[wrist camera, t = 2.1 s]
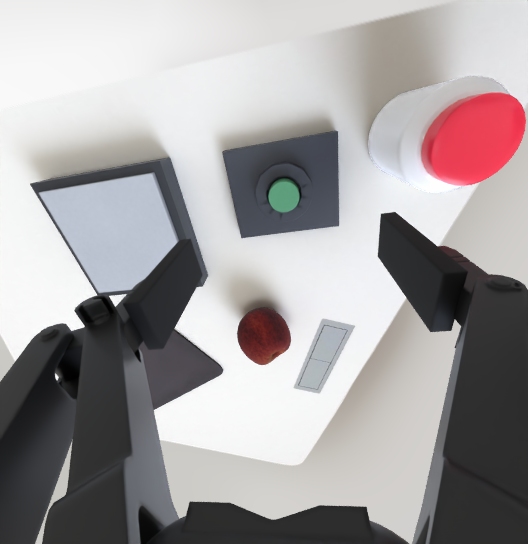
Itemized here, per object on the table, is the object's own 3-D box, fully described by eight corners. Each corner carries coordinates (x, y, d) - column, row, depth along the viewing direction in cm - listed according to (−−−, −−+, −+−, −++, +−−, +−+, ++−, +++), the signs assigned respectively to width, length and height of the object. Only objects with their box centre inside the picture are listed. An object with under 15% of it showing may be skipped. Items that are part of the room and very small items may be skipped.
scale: (170, 157, 29) (157, 161, 26) (208, 275, 37) (201, 289, 34) (49, 179, 31) (24, 185, 28) (109, 286, 39) (95, 299, 36)
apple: (265, 341, 43) (261, 383, 36) (231, 315, 40) (219, 355, 33) (298, 319, 40) (301, 360, 33) (263, 289, 37) (258, 327, 30)
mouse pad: (134, 298, 40) (133, 299, 39) (226, 371, 47) (226, 371, 47) (61, 360, 49) (60, 360, 49) (148, 412, 56) (148, 413, 56)
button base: (335, 130, 26) (341, 131, 24) (337, 222, 31) (341, 231, 29) (224, 150, 28) (218, 153, 25) (242, 234, 33) (239, 243, 30)
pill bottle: (463, 94, 24) (580, 76, 14) (427, 179, 28) (500, 208, 18) (383, 84, 24) (447, 59, 14) (358, 170, 28) (395, 194, 18)
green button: (297, 176, 26) (297, 178, 25) (299, 206, 28) (300, 210, 26) (267, 180, 27) (266, 183, 25) (271, 210, 28) (270, 214, 27)
